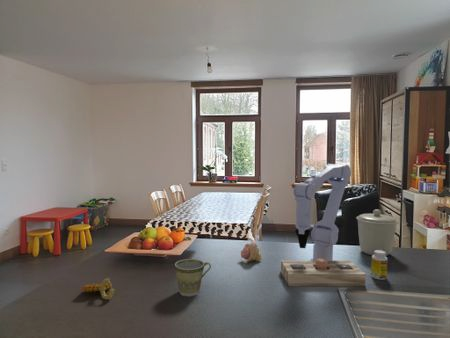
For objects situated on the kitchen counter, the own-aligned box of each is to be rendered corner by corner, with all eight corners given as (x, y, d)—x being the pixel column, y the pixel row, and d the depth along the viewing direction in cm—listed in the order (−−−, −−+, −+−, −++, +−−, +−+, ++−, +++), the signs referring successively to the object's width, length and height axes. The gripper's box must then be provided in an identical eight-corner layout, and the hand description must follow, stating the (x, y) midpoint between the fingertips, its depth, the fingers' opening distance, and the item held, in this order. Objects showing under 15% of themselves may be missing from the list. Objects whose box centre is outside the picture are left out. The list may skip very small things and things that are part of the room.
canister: (394, 262, 144) (397, 215, 143) (351, 254, 154) (353, 210, 152) (398, 251, 160) (400, 208, 158) (358, 245, 169) (360, 204, 168)
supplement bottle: (381, 281, 124) (382, 254, 123) (367, 276, 128) (369, 250, 127) (389, 278, 127) (390, 252, 126) (376, 273, 131) (377, 248, 131)
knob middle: (313, 267, 128) (314, 258, 127) (324, 267, 128) (325, 258, 127) (317, 271, 123) (317, 262, 123) (328, 271, 123) (329, 262, 123)
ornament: (74, 277, 112) (99, 279, 103) (102, 275, 120) (127, 277, 111) (72, 299, 110) (97, 302, 101) (101, 295, 118) (126, 298, 109)
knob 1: (290, 272, 127) (290, 264, 127) (301, 272, 128) (302, 264, 127) (293, 277, 123) (293, 268, 123) (304, 277, 123) (305, 268, 123)
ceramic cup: (180, 301, 106) (180, 271, 105) (170, 289, 115) (170, 261, 114) (216, 293, 112) (217, 264, 111) (204, 282, 121) (205, 255, 120)
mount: (280, 271, 132) (281, 260, 132) (349, 271, 133) (349, 260, 133) (288, 286, 118) (289, 274, 118) (365, 286, 119) (365, 274, 119)
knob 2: (336, 272, 128) (336, 264, 128) (347, 272, 128) (347, 264, 128) (340, 277, 124) (341, 268, 123) (352, 277, 124) (352, 268, 124)
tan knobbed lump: (260, 258, 149) (269, 248, 143) (251, 274, 142) (260, 264, 136) (243, 246, 150) (251, 235, 144) (233, 262, 143) (241, 251, 137)
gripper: (313, 218, 121) (311, 254, 122) (315, 211, 134) (314, 243, 135) (293, 216, 123) (292, 252, 124) (297, 209, 137) (296, 241, 138)
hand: (302, 247), depth 130 cm, fingers closed
